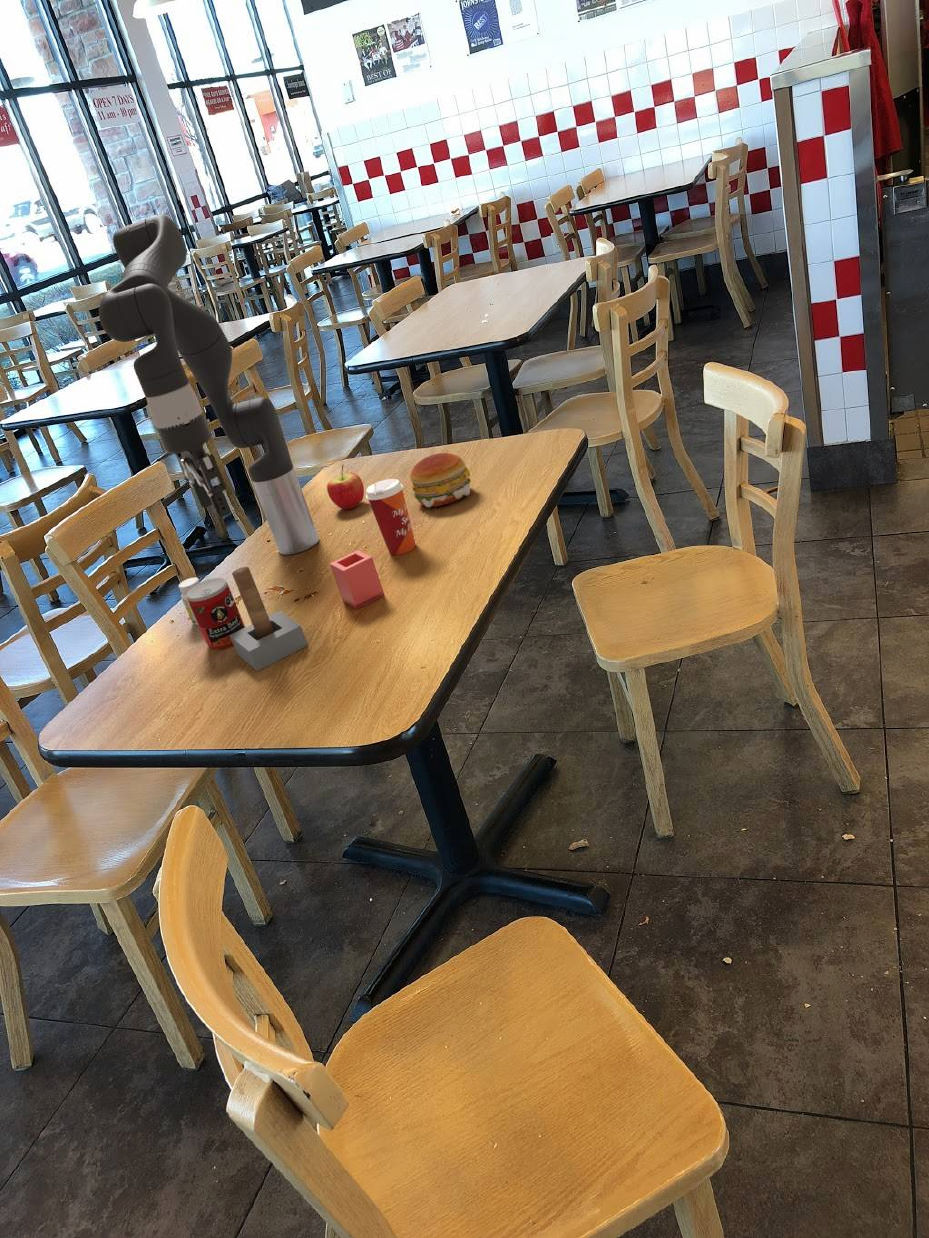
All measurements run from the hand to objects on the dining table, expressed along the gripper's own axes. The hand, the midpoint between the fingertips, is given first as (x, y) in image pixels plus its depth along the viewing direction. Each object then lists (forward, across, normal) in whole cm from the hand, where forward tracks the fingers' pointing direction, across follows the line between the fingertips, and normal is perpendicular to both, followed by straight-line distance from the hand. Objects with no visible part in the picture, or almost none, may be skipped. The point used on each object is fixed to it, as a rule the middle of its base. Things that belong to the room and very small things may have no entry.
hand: (216, 510), depth 164 cm
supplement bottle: (+28, -27, -4) cm, 39 cm away
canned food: (+27, -13, -4) cm, 31 cm away
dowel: (+26, 0, 0) cm, 26 cm away
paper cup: (+28, -15, +36) cm, 48 cm away
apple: (+28, -51, +42) cm, 72 cm away
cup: (+27, -2, +20) cm, 34 cm away
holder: (+27, 0, 0) cm, 27 cm away
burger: (+28, -30, +56) cm, 69 cm away
